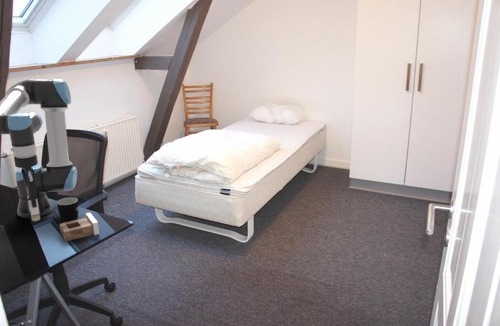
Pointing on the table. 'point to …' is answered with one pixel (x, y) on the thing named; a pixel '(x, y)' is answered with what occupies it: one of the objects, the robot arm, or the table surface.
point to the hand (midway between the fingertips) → (34, 212)
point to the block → (76, 229)
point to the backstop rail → (93, 223)
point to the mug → (68, 209)
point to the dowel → (37, 216)
